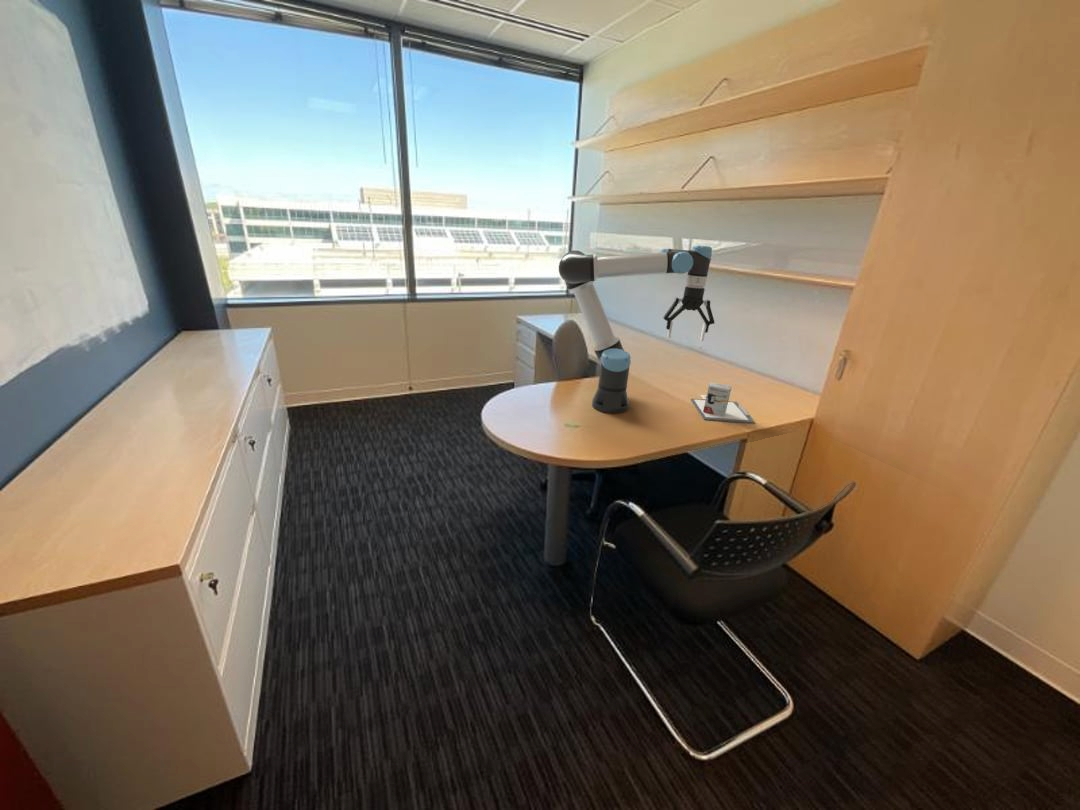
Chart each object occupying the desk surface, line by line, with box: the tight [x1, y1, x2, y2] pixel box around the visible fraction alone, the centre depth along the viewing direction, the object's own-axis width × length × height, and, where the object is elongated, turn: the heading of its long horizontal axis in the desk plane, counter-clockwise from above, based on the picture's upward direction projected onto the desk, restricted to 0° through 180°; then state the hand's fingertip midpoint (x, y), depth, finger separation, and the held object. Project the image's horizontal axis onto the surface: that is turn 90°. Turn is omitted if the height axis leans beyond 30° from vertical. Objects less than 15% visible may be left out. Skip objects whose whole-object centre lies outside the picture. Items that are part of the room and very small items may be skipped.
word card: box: [700, 394, 707, 400], centre depth 200 cm, size 8×5×1 cm, turn 86°
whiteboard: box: [690, 398, 756, 424], centre depth 186 cm, size 20×22×1 cm
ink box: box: [703, 382, 732, 416], centre depth 180 cm, size 9×5×12 cm, turn 63°
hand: (685, 338), depth 184 cm, fingers open, 13 cm apart
